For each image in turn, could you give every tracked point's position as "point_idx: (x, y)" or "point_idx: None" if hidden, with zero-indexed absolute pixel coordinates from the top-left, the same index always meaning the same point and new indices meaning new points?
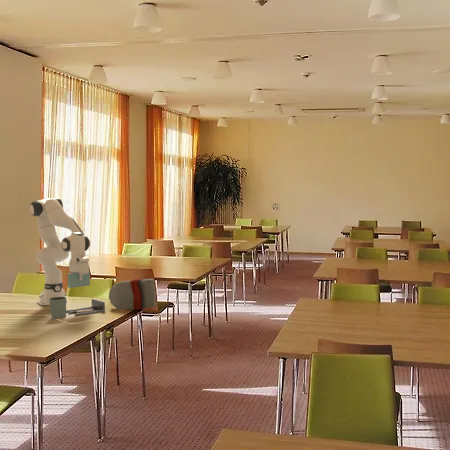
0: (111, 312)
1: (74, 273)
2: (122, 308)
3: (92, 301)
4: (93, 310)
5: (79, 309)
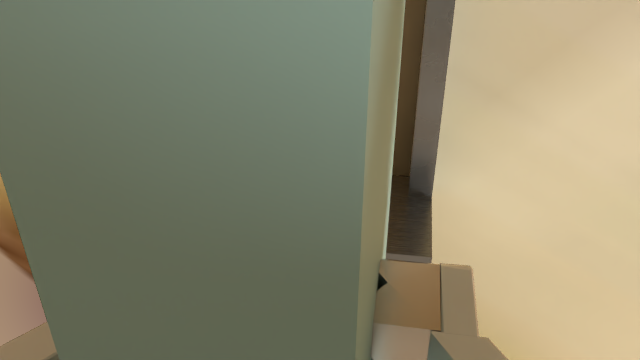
0: None
1: (61, 288)
2: None
3: (406, 235)
4: None
5: (425, 15)
